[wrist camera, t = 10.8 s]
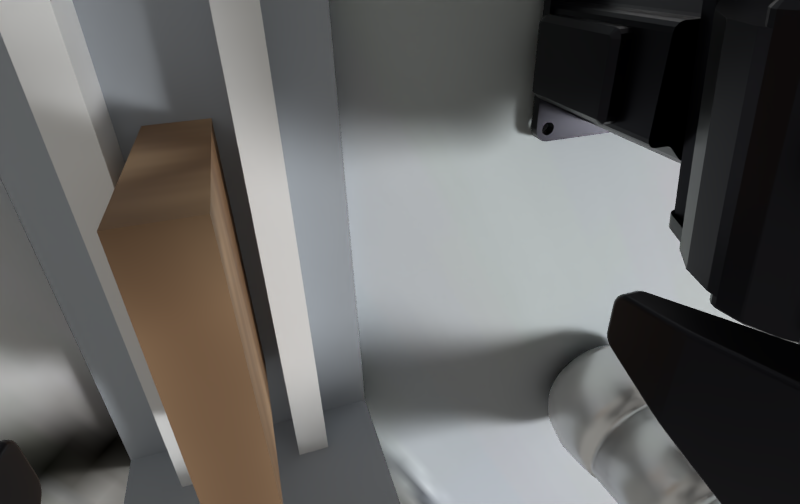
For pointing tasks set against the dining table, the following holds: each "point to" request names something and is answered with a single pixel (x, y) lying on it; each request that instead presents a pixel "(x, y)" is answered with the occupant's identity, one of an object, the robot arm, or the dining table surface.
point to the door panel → (194, 309)
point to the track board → (249, 197)
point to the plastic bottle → (619, 434)
